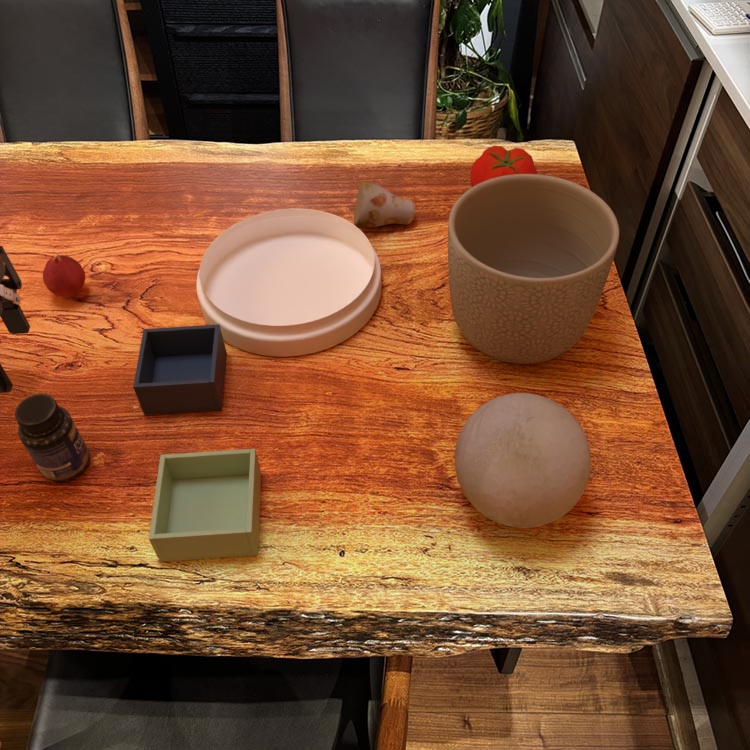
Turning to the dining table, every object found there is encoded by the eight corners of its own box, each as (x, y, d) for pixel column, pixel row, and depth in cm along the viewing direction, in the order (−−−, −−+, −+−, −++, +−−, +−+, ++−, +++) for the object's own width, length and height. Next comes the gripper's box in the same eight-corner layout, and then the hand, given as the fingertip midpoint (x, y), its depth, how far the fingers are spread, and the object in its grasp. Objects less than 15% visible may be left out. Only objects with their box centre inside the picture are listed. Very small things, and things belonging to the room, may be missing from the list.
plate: (207, 372, 110) (199, 345, 106) (195, 247, 127) (188, 219, 123) (399, 339, 113) (399, 311, 109) (362, 221, 130) (360, 193, 126)
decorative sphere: (456, 553, 91) (463, 480, 80) (447, 445, 101) (453, 366, 89) (589, 551, 91) (615, 477, 79) (568, 443, 100) (588, 363, 89)
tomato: (458, 202, 132) (460, 164, 127) (488, 168, 138) (491, 130, 133) (517, 223, 129) (522, 184, 123) (545, 187, 135) (551, 148, 129)
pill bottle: (97, 469, 100) (69, 414, 91) (50, 492, 98) (17, 439, 89) (81, 436, 103) (52, 380, 95) (34, 457, 101) (1, 403, 93)
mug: (421, 235, 128) (392, 199, 120) (368, 250, 132) (337, 217, 124) (422, 197, 131) (393, 160, 123) (370, 214, 135) (339, 179, 128)
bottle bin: (144, 415, 105) (132, 387, 101) (153, 357, 112) (143, 328, 107) (222, 410, 105) (214, 382, 101) (226, 353, 112) (219, 324, 108)
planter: (438, 281, 120) (443, 175, 106) (578, 277, 120) (601, 170, 105) (448, 388, 107) (454, 283, 92) (605, 384, 106) (636, 278, 92)
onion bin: (159, 562, 91) (148, 538, 87) (170, 479, 99) (160, 454, 95) (258, 555, 91) (251, 532, 87) (261, 473, 99) (255, 448, 95)
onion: (44, 298, 120) (25, 258, 114) (73, 276, 123) (56, 236, 117) (70, 313, 118) (52, 273, 112) (99, 291, 121) (83, 250, 115)
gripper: (-72, 199, 79) (-7, 316, 91) (-121, 299, 70) (-41, 414, 82) (4, 193, 79) (59, 311, 91) (-34, 293, 70) (33, 409, 82)
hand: (12, 360), depth 87 cm, fingers open, 8 cm apart
